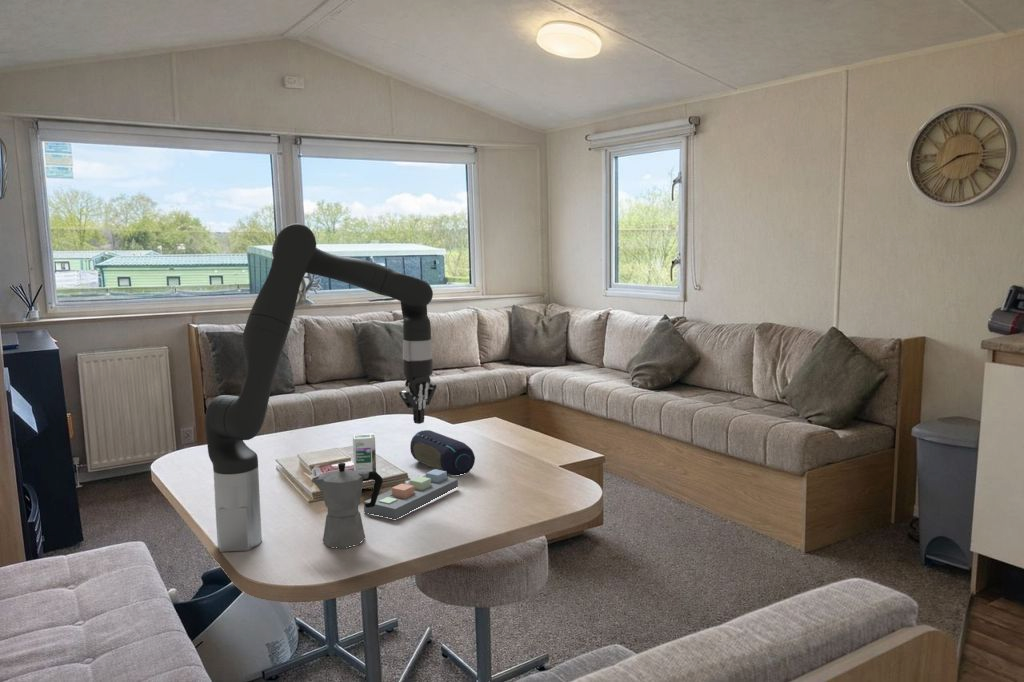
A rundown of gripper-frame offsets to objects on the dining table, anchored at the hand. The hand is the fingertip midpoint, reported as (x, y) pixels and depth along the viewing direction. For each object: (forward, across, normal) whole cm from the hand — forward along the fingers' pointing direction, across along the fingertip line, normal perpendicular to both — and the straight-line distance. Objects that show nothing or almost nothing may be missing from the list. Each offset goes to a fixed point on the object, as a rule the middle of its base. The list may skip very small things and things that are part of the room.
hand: (418, 422), depth 186 cm
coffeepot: (+20, +30, +4) cm, 37 cm away
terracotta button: (+19, +7, 0) cm, 20 cm away
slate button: (+19, -7, 0) cm, 20 cm away
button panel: (+20, +3, 0) cm, 20 cm away
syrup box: (+20, +1, -18) cm, 28 cm away
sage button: (+19, 0, 0) cm, 19 cm away
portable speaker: (+20, -24, -11) cm, 33 cm away
